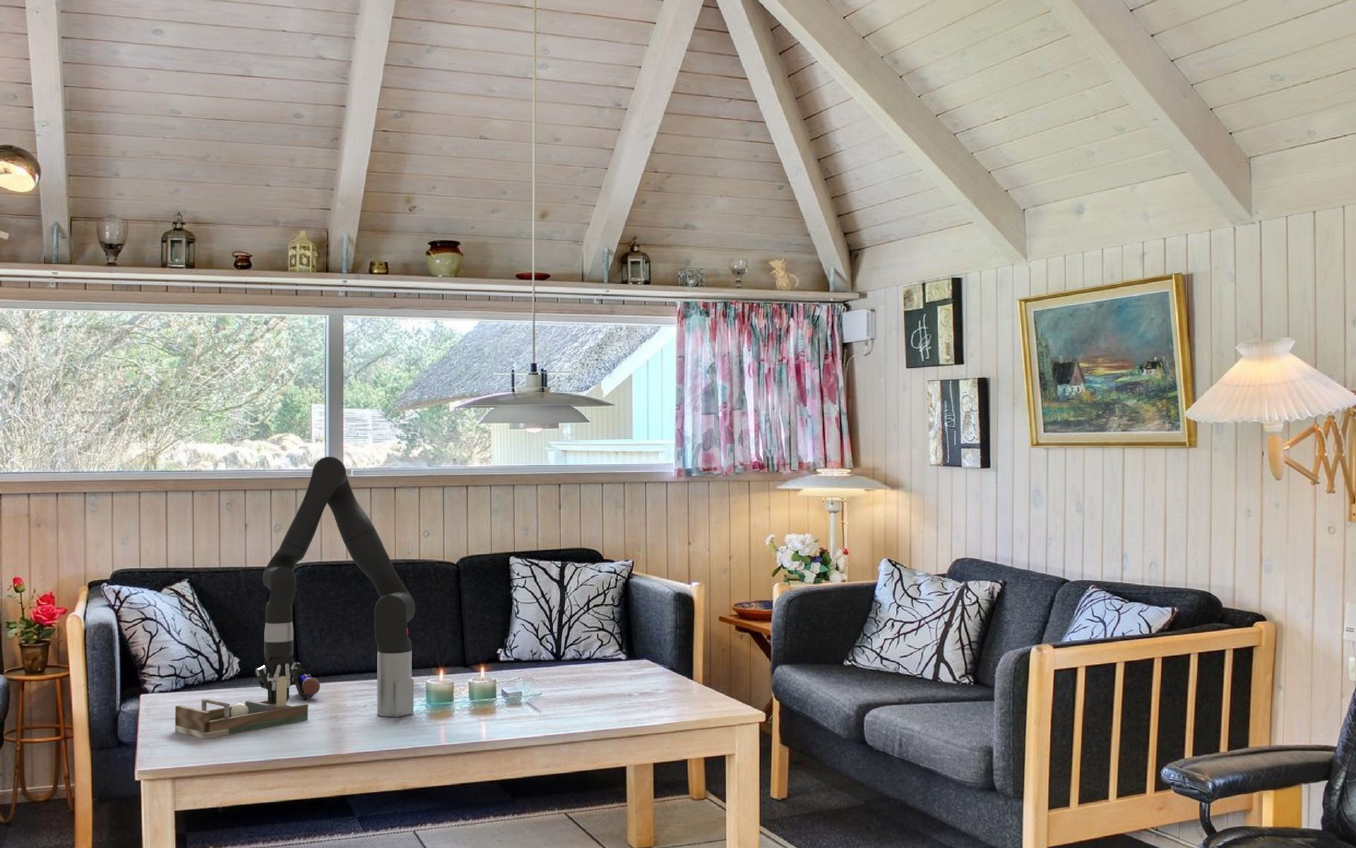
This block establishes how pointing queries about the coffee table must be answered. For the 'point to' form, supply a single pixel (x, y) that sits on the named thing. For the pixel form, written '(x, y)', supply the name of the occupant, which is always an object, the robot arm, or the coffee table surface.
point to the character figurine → (306, 684)
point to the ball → (239, 710)
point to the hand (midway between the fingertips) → (278, 702)
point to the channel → (232, 719)
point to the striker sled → (280, 699)
